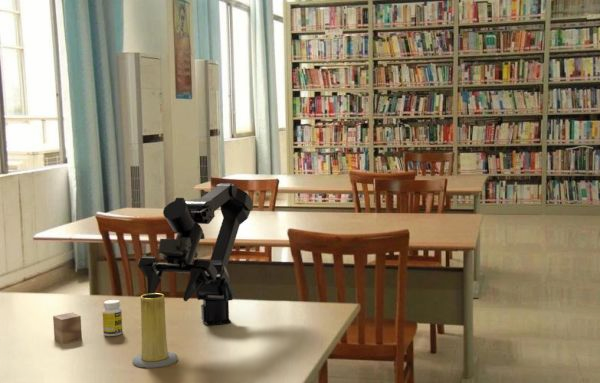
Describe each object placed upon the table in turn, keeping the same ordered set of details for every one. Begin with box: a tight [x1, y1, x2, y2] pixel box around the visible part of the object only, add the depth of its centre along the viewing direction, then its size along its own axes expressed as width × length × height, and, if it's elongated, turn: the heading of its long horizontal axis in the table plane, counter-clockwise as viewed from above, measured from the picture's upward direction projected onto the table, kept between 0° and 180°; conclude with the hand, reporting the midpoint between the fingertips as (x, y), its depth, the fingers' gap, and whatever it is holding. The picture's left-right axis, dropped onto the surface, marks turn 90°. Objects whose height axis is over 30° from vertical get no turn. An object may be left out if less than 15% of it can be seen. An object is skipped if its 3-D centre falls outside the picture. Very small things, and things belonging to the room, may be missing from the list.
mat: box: [132, 351, 179, 369], centre depth 168 cm, size 10×10×1 cm
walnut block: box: [52, 312, 83, 344], centre depth 186 cm, size 5×5×6 cm
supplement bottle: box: [102, 299, 123, 337], centre depth 190 cm, size 5×5×8 cm
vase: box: [140, 292, 169, 362], centre depth 168 cm, size 6×6×14 cm
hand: (166, 299), depth 173 cm, fingers open, 9 cm apart
